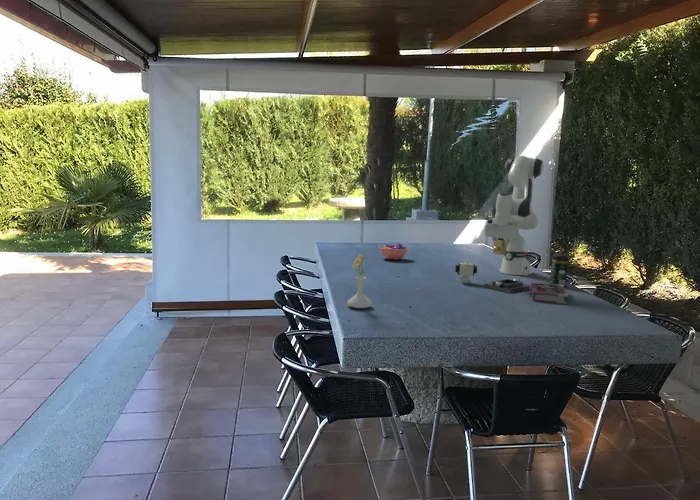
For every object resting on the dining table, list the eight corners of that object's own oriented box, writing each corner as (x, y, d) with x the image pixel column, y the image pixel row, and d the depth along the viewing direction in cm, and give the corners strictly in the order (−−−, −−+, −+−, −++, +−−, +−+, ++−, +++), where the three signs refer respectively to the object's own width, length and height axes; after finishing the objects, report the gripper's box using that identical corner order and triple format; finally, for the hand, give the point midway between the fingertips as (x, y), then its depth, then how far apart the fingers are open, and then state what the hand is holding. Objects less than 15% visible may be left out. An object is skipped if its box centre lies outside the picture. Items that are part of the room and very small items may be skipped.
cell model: (376, 257, 400) (377, 240, 398) (405, 257, 402) (406, 241, 401) (380, 261, 383) (381, 244, 382) (410, 262, 386) (411, 245, 384)
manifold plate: (505, 283, 329) (505, 275, 328) (530, 288, 317) (530, 281, 316) (484, 287, 316) (484, 279, 315) (509, 293, 304) (510, 285, 303)
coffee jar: (547, 283, 333) (550, 252, 330) (561, 284, 333) (564, 252, 330) (553, 287, 324) (556, 254, 321) (567, 288, 324) (570, 255, 321)
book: (566, 305, 285) (567, 295, 284) (532, 301, 289) (533, 291, 288) (562, 294, 309) (562, 285, 309) (530, 291, 313) (531, 282, 313)
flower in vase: (347, 303, 268) (349, 250, 264) (371, 304, 268) (374, 251, 264) (346, 310, 255) (348, 254, 251) (372, 311, 255) (374, 256, 251)
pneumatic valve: (475, 284, 324) (477, 263, 322) (454, 283, 324) (456, 262, 322) (474, 282, 329) (475, 261, 327) (453, 281, 329) (455, 260, 328)
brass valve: (500, 252, 325) (502, 233, 324) (508, 254, 322) (509, 234, 320) (490, 253, 320) (492, 233, 318) (498, 254, 316) (500, 235, 314)
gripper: (522, 223, 312) (519, 248, 314) (490, 219, 328) (488, 243, 330) (515, 223, 308) (513, 249, 310) (484, 219, 324) (482, 244, 325)
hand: (500, 246), depth 320 cm, fingers closed on brass valve, 5 cm apart
